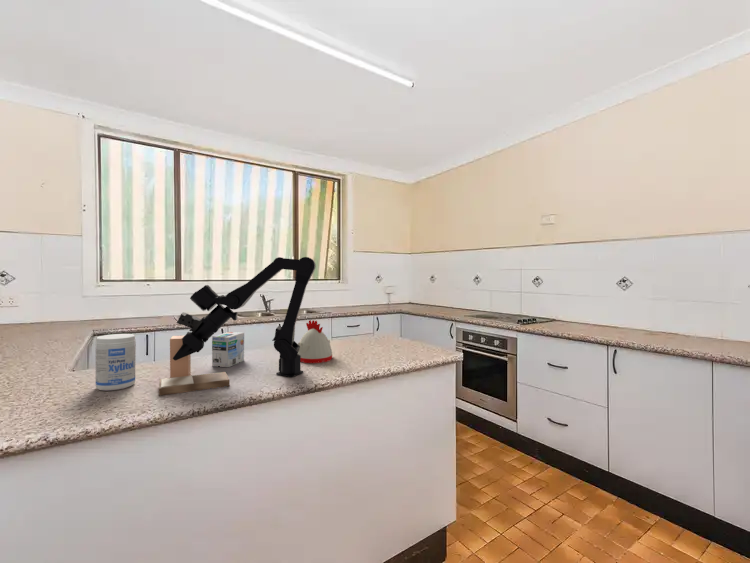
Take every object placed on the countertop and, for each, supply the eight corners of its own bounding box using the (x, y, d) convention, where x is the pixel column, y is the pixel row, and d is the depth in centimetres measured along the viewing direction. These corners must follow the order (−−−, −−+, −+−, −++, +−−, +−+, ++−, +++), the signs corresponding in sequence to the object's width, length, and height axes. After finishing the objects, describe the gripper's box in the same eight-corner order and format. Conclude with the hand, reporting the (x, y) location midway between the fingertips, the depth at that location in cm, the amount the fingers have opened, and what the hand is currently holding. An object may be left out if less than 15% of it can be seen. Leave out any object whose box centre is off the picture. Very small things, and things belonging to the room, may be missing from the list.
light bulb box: (228, 367, 128) (228, 337, 128) (211, 366, 130) (211, 336, 129) (245, 360, 139) (245, 332, 138) (228, 359, 140) (229, 331, 140)
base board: (225, 378, 117) (225, 371, 116) (229, 386, 109) (229, 378, 109) (159, 386, 108) (159, 378, 108) (158, 395, 100) (158, 387, 100)
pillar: (190, 374, 119) (190, 335, 118) (188, 379, 114) (188, 338, 114) (173, 376, 117) (172, 335, 117) (170, 381, 113) (169, 339, 112)
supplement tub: (111, 393, 101) (111, 340, 100) (87, 389, 104) (86, 337, 103) (143, 383, 110) (143, 334, 110) (120, 379, 113) (119, 332, 113)
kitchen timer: (314, 353, 153) (314, 317, 152) (339, 358, 145) (339, 320, 144) (288, 359, 142) (288, 320, 141) (314, 365, 134) (314, 324, 133)
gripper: (197, 301, 125) (161, 334, 122) (190, 307, 107) (147, 346, 104) (222, 323, 128) (187, 356, 125) (219, 332, 110) (178, 371, 107)
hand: (175, 357), depth 115 cm, fingers closed on pillar, 5 cm apart
